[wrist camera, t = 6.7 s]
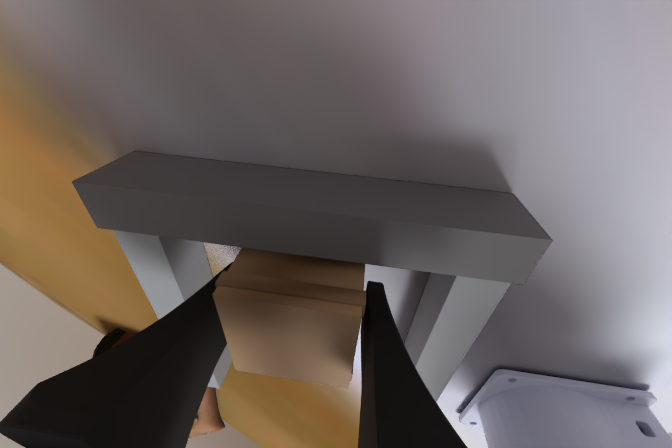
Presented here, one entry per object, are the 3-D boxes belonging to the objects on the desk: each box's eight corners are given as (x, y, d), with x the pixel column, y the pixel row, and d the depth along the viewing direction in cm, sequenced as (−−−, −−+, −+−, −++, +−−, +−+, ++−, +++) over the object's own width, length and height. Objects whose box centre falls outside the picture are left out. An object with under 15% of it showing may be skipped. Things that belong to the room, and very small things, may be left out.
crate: (369, 225, 13) (365, 315, 9) (357, 298, 16) (350, 390, 12) (261, 211, 13) (208, 292, 9) (270, 285, 16) (233, 370, 12)
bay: (513, 193, 11) (552, 240, 8) (418, 383, 20) (423, 432, 18) (134, 151, 12) (71, 181, 9) (210, 350, 21) (188, 391, 19)
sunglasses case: (229, 431, 31) (169, 493, 27) (195, 387, 34) (136, 435, 30) (216, 350, 21) (113, 427, 16) (169, 296, 24) (71, 349, 19)
